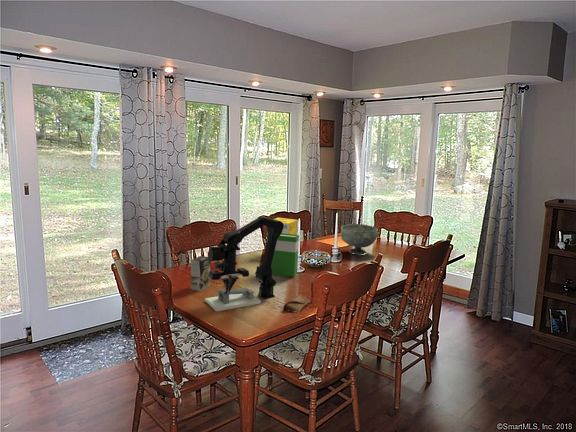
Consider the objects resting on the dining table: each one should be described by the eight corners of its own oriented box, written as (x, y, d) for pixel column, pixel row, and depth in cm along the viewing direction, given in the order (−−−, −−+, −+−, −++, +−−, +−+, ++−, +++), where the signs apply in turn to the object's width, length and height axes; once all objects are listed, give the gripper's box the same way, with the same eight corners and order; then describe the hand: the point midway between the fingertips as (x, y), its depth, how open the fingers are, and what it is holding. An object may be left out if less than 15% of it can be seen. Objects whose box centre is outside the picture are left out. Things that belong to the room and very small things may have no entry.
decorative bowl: (375, 249, 321) (376, 223, 318) (378, 259, 296) (380, 231, 293) (340, 248, 324) (340, 223, 320) (340, 258, 299) (341, 230, 295)
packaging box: (297, 254, 299) (298, 220, 294) (287, 260, 284) (289, 223, 280) (276, 251, 305) (277, 217, 301) (266, 256, 290) (267, 220, 286)
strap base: (248, 294, 218) (248, 283, 217) (260, 303, 206) (261, 291, 205) (205, 301, 206) (205, 289, 205) (216, 311, 194) (216, 299, 193)
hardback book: (265, 273, 253) (266, 234, 249) (269, 270, 260) (270, 232, 256) (294, 277, 249) (296, 237, 244) (297, 273, 256) (299, 234, 252)
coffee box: (201, 291, 219) (201, 261, 216) (190, 289, 221) (190, 259, 218) (210, 286, 227) (210, 257, 224) (199, 284, 229) (200, 255, 226)
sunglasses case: (300, 313, 195) (293, 300, 196) (287, 318, 198) (281, 305, 199) (313, 301, 212) (307, 289, 212) (301, 306, 215) (296, 294, 215)
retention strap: (247, 290, 212) (247, 288, 211) (251, 294, 208) (251, 291, 207) (219, 292, 204) (220, 289, 204) (223, 295, 200) (224, 292, 200)
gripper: (240, 254, 213) (238, 283, 215) (204, 256, 203) (203, 287, 205) (250, 259, 203) (248, 290, 206) (213, 262, 193) (212, 295, 196)
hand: (228, 291), depth 203 cm, fingers closed, pressing on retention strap
